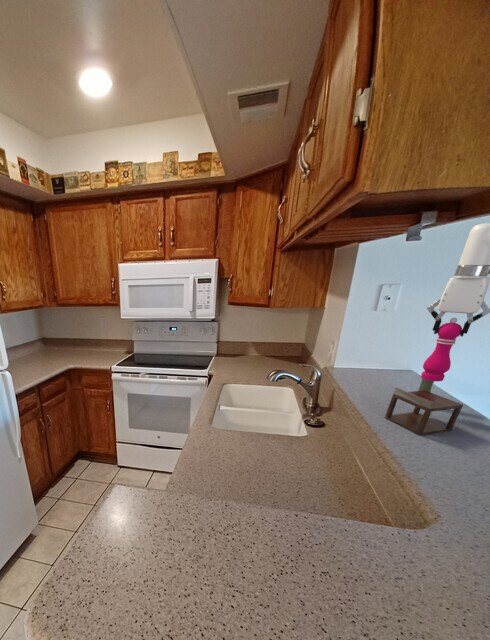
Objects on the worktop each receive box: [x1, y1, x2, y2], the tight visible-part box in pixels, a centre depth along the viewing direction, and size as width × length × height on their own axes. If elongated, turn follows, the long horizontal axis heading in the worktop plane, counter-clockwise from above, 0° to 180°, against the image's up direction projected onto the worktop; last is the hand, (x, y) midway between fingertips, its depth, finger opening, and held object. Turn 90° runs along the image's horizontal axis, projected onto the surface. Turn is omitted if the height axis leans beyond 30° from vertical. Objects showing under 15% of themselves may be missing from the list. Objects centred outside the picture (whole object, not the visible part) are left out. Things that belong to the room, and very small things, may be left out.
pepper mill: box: [420, 317, 463, 382], centre depth 108 cm, size 7×7×20 cm
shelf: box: [384, 387, 464, 436], centre depth 106 cm, size 13×13×11 cm
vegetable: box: [417, 378, 435, 393], centre depth 118 cm, size 4×4×20 cm
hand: (448, 333), depth 105 cm, fingers closed on pepper mill, 6 cm apart
